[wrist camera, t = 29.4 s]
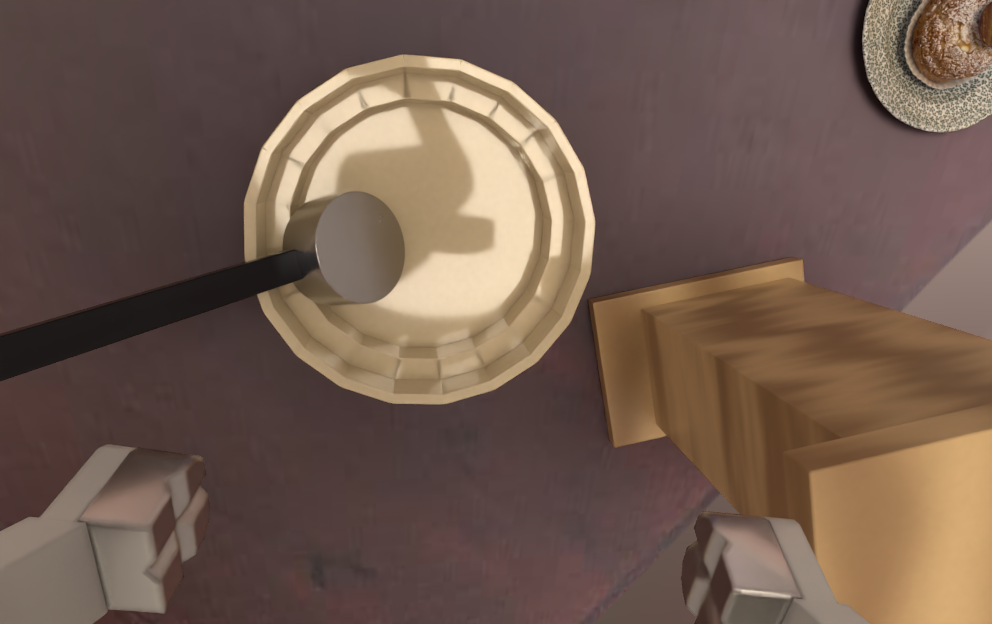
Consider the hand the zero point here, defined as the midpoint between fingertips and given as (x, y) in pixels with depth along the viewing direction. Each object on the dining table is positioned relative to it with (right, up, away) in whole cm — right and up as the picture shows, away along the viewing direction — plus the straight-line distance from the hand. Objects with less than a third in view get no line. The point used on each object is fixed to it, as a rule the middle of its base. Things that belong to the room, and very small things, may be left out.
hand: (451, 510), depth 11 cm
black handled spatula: (-13, +4, +21) cm, 25 cm away
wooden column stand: (+14, +1, +34) cm, 37 cm away
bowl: (-4, +8, +30) cm, 32 cm away
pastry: (+29, +21, +32) cm, 48 cm away
